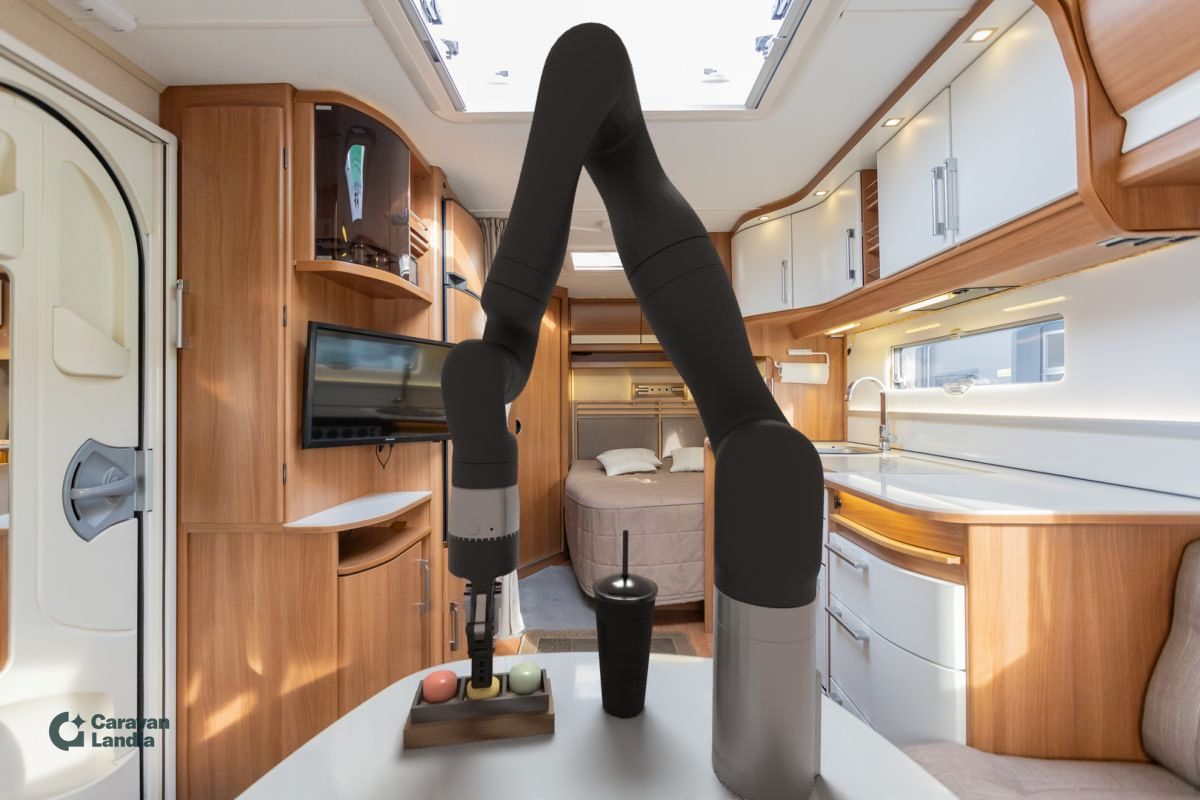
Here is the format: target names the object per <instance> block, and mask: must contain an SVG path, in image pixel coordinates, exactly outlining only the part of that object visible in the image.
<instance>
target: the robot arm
mask: <svg viewBox="0 0 1200 800" xmlns="http://www.w3.org/2000/svg"><path fill="white" fill-rule="evenodd" d="M628 51H629V50H628V49H627V47H626V45H625V43H624V42H623V39H622V37H620V36H619V34H618V33H617V32H616V31H615V30H614V29H613V28H611V27H609V26H608V25H606V24H604V23H600V22H591V21H590V22H583V23H579V24H576V25H574V26H572V27H570V28H568V29H567V30H565V31H564V32H563V33H562V34H561V35H560V36H559V37H558V38H557V39H556V40H555V42H554V43H553V45H552V46H551V48H550V49H549V51H548V54H547V56H546V57H545V61H544V64H543V67H542V72H541V75H540V79H539V85H538V90H537V94H536V99H535V103H534V104H535V105H534V110H533V115H532V120H531V126H530V129H529V133H528V139H527V142H526V146H525V152H524V155H523V160H522V165H521V170H520V172H519V173H520V174H519V176H518V177H519V178H518V181H517V186H516V190H515V193H514V197H513V200H512V205H511V208H510V211H509V214H508V218H507V221H506V224H505V227H504V231H503V233H502V236H501V239H500V240H499V243H498V247H497V249H496V251H495V254H494V258H493V260H492V262H491V265H490V268H489V271H488V273H487V276H486V279H485V281H484V284H483V288H482V290H481V293H480V300H479V304H480V306H481V309H482V311H483V312H484V314H485V316H486V320H485V325H484V329H483V334H482V338H468V339H465V340H464V339H463V340H461V341H460V342H458V343H457V344H455V345H454V346H452V348H451V349H450V350H449V351H448V353H447V354H446V356H445V359H444V361H443V363H442V364H443V365H442V368H441V373H440V374H441V375H440V393H441V399H442V400H441V401H442V404H443V410H444V415H445V416H444V417H445V419H446V427H447V431H448V433H449V436H450V440H451V445H452V455H451V490H450V496H449V503H448V525H447V526H448V527H447V528H448V529H447V533H448V534H447V537H448V538H447V569H448V571H449V574H451V575H452V576H453V577H456V578H458V579H465V580H467V581H468V582H465V591H463V597H462V601H463V603H462V607H463V608H462V609H463V611H464V612H465V630H464V631H465V635H466V643H467V655H468V659H471V662H470V663H471V667H470V668H471V669H470V672H471V673H470V676H471V687H472V688H473V689H479V688H489V687H491V685H492V679H493V673H494V654H495V650H496V644H495V642H496V640H497V639H496V636H495V635H497V634H498V633H499V630H500V629H499V627H500V609H501V607H502V600H503V599H502V596H503V595H502V594H503V580H497V578H501V577H505V576H508V575H509V574H512V573H513V572H514V571H515V570H516V569H517V568H518V566H519V563H520V522H521V521H520V517H521V516H520V514H521V513H520V511H521V510H520V509H521V507H520V506H521V502H520V495H519V483H518V481H519V445H518V439H517V437H516V435H515V434H514V433H513V432H511V431H510V430H509V428H508V421H507V410H506V409H507V408H506V405H508V404H511V403H512V402H514V401H515V400H517V398H519V397H520V396H521V395H522V393H523V391H524V390H525V388H526V385H527V384H528V381H529V380H530V376H531V375H532V374H531V373H532V371H533V367H534V364H535V358H536V352H537V348H538V343H539V338H540V332H541V331H540V330H541V325H542V321H543V318H544V316H545V314H546V311H547V310H548V306H549V304H550V302H551V300H552V299H551V298H552V296H553V293H554V291H555V289H556V285H557V283H558V280H559V278H560V275H561V272H562V269H563V266H564V262H565V258H566V254H567V249H568V243H569V240H570V239H569V237H570V232H571V225H572V219H573V218H572V217H573V212H574V205H575V199H576V193H577V189H578V185H579V181H580V178H581V177H580V176H581V173H582V170H583V168H584V169H585V170H586V172H587V173H588V174H587V175H589V176H588V177H589V178H590V179H591V181H592V183H593V185H594V186H595V188H596V190H597V192H598V194H599V196H600V198H601V199H602V202H603V205H604V207H605V209H606V213H607V215H608V220H609V225H610V228H611V233H612V236H613V240H614V244H615V249H616V251H617V254H618V257H619V260H620V263H621V265H622V268H623V271H624V273H625V276H626V278H627V281H628V283H629V285H630V289H632V290H631V291H632V293H633V294H634V297H635V299H636V301H637V303H638V306H639V308H640V309H641V312H642V314H643V317H644V318H645V320H646V322H647V324H648V326H649V328H650V329H651V331H652V333H653V335H654V336H655V338H656V340H657V342H658V343H659V345H660V347H661V348H662V350H663V351H664V353H665V354H666V357H668V359H669V361H670V362H671V364H672V365H673V367H674V368H675V370H676V371H677V373H678V374H679V376H680V377H681V379H682V380H683V383H685V386H686V387H687V389H688V391H689V392H690V394H691V396H692V399H693V401H694V403H695V406H696V408H697V410H698V413H699V415H700V418H701V421H702V424H703V427H704V429H705V432H706V436H707V438H708V442H709V444H710V445H709V446H710V448H711V451H712V455H713V458H714V477H713V479H714V480H713V481H714V484H713V485H714V487H713V494H714V495H713V550H712V551H713V611H712V612H713V618H712V620H713V624H712V625H713V627H712V629H713V631H712V633H713V634H712V639H713V640H712V696H711V697H712V701H711V702H712V703H711V707H712V708H711V709H712V710H711V711H712V713H711V715H712V717H711V718H712V719H711V762H712V767H713V770H714V771H715V773H716V775H717V777H718V778H719V779H720V780H721V782H722V783H723V784H724V786H726V787H727V788H728V789H729V790H730V791H731V792H733V793H734V794H736V795H737V796H739V797H740V798H742V799H744V800H807V799H808V798H809V797H810V796H811V795H812V793H813V791H814V787H815V777H817V776H818V775H820V774H821V773H822V772H821V771H822V770H821V769H822V767H821V766H822V765H821V764H822V762H821V761H822V700H823V699H822V694H823V693H822V690H823V689H822V688H823V685H822V683H823V681H822V680H823V679H822V673H821V671H820V670H819V669H818V668H817V666H816V663H817V662H816V661H817V659H816V658H817V657H816V656H817V586H818V585H817V584H818V583H817V582H818V577H819V574H820V571H821V567H822V562H823V544H824V543H823V540H824V539H823V538H824V513H825V477H824V467H823V463H822V462H823V461H822V459H821V457H820V456H821V455H820V454H819V451H818V449H817V448H816V446H815V445H814V444H813V442H812V441H811V440H810V439H809V438H808V437H807V436H806V435H805V434H804V433H803V432H801V431H799V430H798V429H796V428H795V427H793V426H792V425H791V424H790V421H789V420H788V419H787V417H786V416H785V414H784V412H783V411H782V409H781V408H780V406H779V405H778V402H777V401H776V399H775V398H774V395H773V394H772V392H771V390H770V388H769V386H768V385H767V383H766V381H765V380H764V378H763V376H762V374H761V372H760V369H759V368H758V364H757V363H756V360H755V358H754V354H753V351H752V347H751V344H750V340H749V336H748V333H747V330H746V324H745V321H744V318H743V315H742V312H741V308H740V305H739V302H738V298H737V296H736V293H735V290H734V288H733V285H732V283H731V280H730V277H729V275H728V271H727V270H726V267H725V265H724V263H723V261H722V259H721V257H720V255H719V253H718V251H717V248H716V246H715V244H714V242H713V240H712V238H711V236H710V234H709V232H708V230H707V228H706V226H705V225H704V223H703V222H702V220H701V218H700V217H699V215H698V214H697V212H696V211H695V210H694V208H693V207H692V206H691V204H690V203H689V201H688V200H687V199H686V198H685V197H684V195H682V193H681V191H679V189H678V188H677V187H676V186H675V185H674V183H672V181H671V180H670V178H669V176H668V175H667V173H666V172H665V170H664V168H663V166H662V164H661V162H660V160H659V157H658V154H657V152H656V149H655V147H654V143H653V141H652V139H651V136H650V133H649V130H648V127H647V123H646V121H645V118H644V113H643V109H642V103H641V99H640V95H639V91H638V85H637V81H636V77H635V73H634V68H633V63H632V61H631V57H630V55H629V52H628Z"/></svg>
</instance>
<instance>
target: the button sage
mask: <svg viewBox="0 0 1200 800" xmlns="http://www.w3.org/2000/svg"><path fill="white" fill-rule="evenodd" d="M541 669H542V668H541V667H540V666H539V665H537V664H536V663H533V662H522V663H519V664H516V665H514V666H513V667H511V668H510V670H509V672H510V684H509V688H510V691H511V692H512V693H514V694H517V695H526V694H533V693H535V692H536V691H538V690H539V688H540V686H541Z"/></svg>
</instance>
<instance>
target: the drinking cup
mask: <svg viewBox="0 0 1200 800" xmlns="http://www.w3.org/2000/svg"><path fill="white" fill-rule="evenodd" d="M629 534H630V532H629V530H627V529H625V530H624V529H623V530H622V556H621V557H622V563H621V564H622V565H621V566H622V567H621V568H622V569H621V572H616V573H611V574H608V575H605V576H602V577H598V578H597V579H596V580H595V581H593V582H592V585H591V592H592V595H593V597H594V609H595V622H596V624H595V625H596V636H597V638H596V639H597V651H598V652H597V653H598V664H599V677H600V679H599V680H600V691H601V693H600V694H601V706H602V708H603V710H604V712H605V713H606V714H607V715H609V716H611V717H612V718H616V719H622V720H627V719H628V720H629V719H634V718H637V717H638V716H639V715H641V714H642V712H643V711H644V708H645V703H646V693H647V684H648V674H649V663H650V656H651V648H652V647H651V645H652V635H653V626H654V616H655V608H656V598H657V597H658V595H659V586H658V584H657V583H656V582H655V581H653V580H651V579H650V578H647V577H644V576H642V575H639V574H637V573H634V572H629V544H630V543H629Z"/></svg>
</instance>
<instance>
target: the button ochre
mask: <svg viewBox="0 0 1200 800" xmlns="http://www.w3.org/2000/svg"><path fill="white" fill-rule="evenodd" d="M496 697H499V680H498V679H497V678H496V677H493V679H492V685H491V687H489V688H479V689H473V688H472V687H471V681H470V682H469V683H468V685H467V700H476V699H486V698H496Z"/></svg>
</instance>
